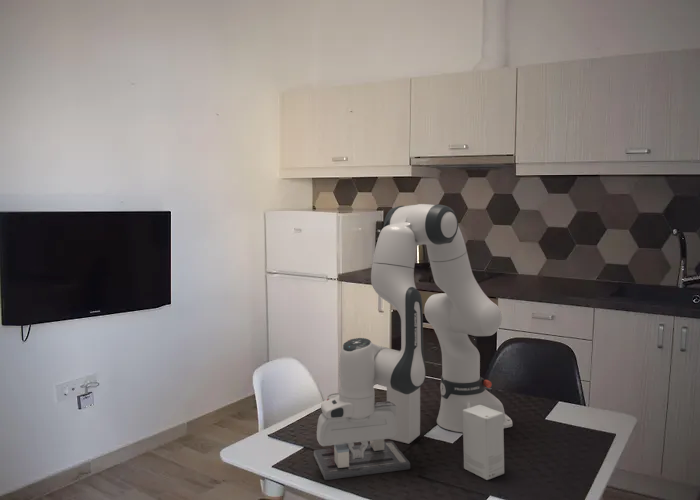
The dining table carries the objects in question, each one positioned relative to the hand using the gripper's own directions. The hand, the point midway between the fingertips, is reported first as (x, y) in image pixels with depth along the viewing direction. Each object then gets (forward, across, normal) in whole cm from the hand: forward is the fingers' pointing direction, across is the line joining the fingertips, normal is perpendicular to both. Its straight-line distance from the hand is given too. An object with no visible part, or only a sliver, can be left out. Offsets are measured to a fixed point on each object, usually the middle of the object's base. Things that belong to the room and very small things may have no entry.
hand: (357, 457), depth 148 cm
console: (+3, -2, -4) cm, 5 cm away
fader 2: (+1, -7, -7) cm, 10 cm away
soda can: (+3, 0, -21) cm, 21 cm away
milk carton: (+3, -18, -16) cm, 24 cm away
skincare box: (+3, -30, +9) cm, 32 cm away
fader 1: (+1, +4, 0) cm, 4 cm away
